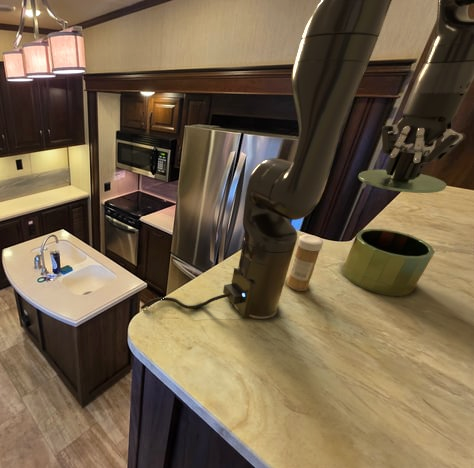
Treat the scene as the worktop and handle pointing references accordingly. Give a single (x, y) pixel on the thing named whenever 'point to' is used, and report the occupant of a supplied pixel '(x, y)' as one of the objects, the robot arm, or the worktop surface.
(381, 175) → the bin lid
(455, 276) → the worktop surface
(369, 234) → the bin
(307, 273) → the sprinkles bottle
